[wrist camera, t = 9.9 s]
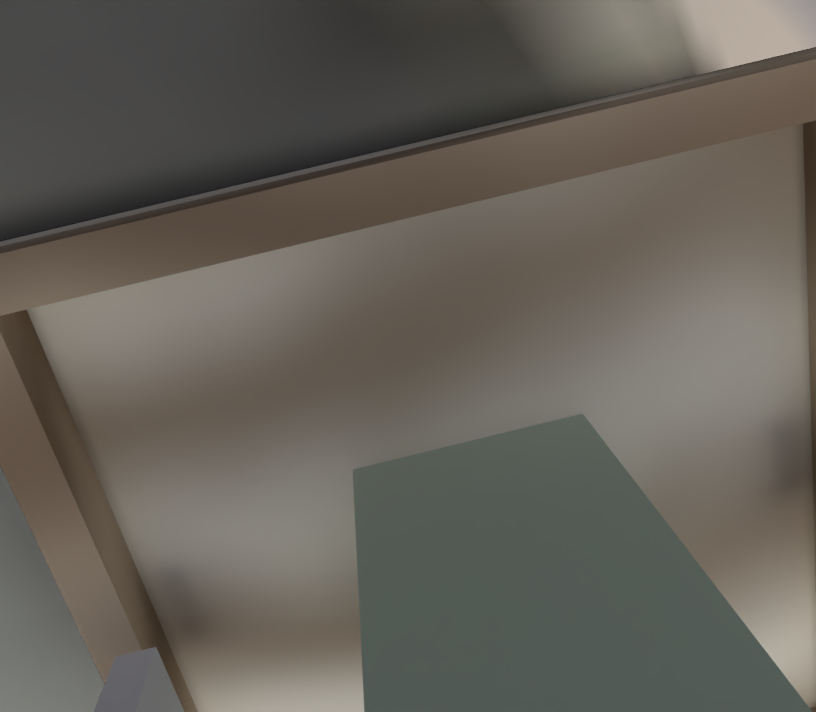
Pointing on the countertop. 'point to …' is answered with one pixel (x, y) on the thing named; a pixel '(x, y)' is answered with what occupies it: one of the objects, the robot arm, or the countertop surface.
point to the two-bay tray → (420, 369)
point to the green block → (541, 588)
